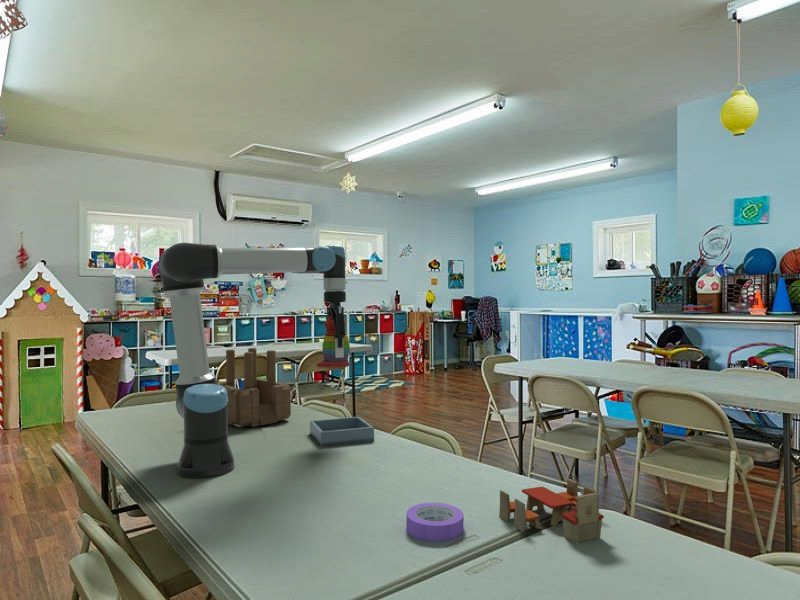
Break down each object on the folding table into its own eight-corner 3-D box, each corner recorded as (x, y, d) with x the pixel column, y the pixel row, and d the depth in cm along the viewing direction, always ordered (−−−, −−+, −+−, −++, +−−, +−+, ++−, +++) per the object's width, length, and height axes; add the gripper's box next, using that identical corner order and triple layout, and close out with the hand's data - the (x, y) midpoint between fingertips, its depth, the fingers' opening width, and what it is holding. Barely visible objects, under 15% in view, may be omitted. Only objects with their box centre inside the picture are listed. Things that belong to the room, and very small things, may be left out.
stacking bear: (336, 363, 193) (335, 313, 193) (357, 365, 186) (356, 314, 186) (313, 366, 184) (313, 315, 184) (334, 369, 178) (333, 315, 178)
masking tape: (474, 530, 110) (474, 511, 110) (440, 550, 102) (439, 530, 102) (430, 515, 118) (430, 498, 118) (394, 532, 110) (394, 514, 110)
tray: (374, 440, 180) (374, 427, 180) (321, 446, 174) (320, 432, 174) (358, 428, 197) (358, 416, 197) (310, 433, 190) (309, 420, 190)
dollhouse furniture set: (565, 504, 124) (565, 462, 124) (628, 538, 107) (628, 488, 107) (494, 517, 117) (494, 472, 117) (550, 556, 99) (549, 503, 99)
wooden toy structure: (241, 428, 198) (241, 355, 198) (207, 416, 220) (207, 349, 220) (295, 419, 214) (294, 350, 214) (258, 408, 236) (257, 346, 236)
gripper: (354, 290, 176) (355, 358, 176) (337, 291, 196) (338, 352, 197) (331, 290, 173) (333, 359, 173) (317, 291, 194) (318, 353, 194)
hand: (335, 355), depth 185 cm, fingers closed on stacking bear, 9 cm apart
